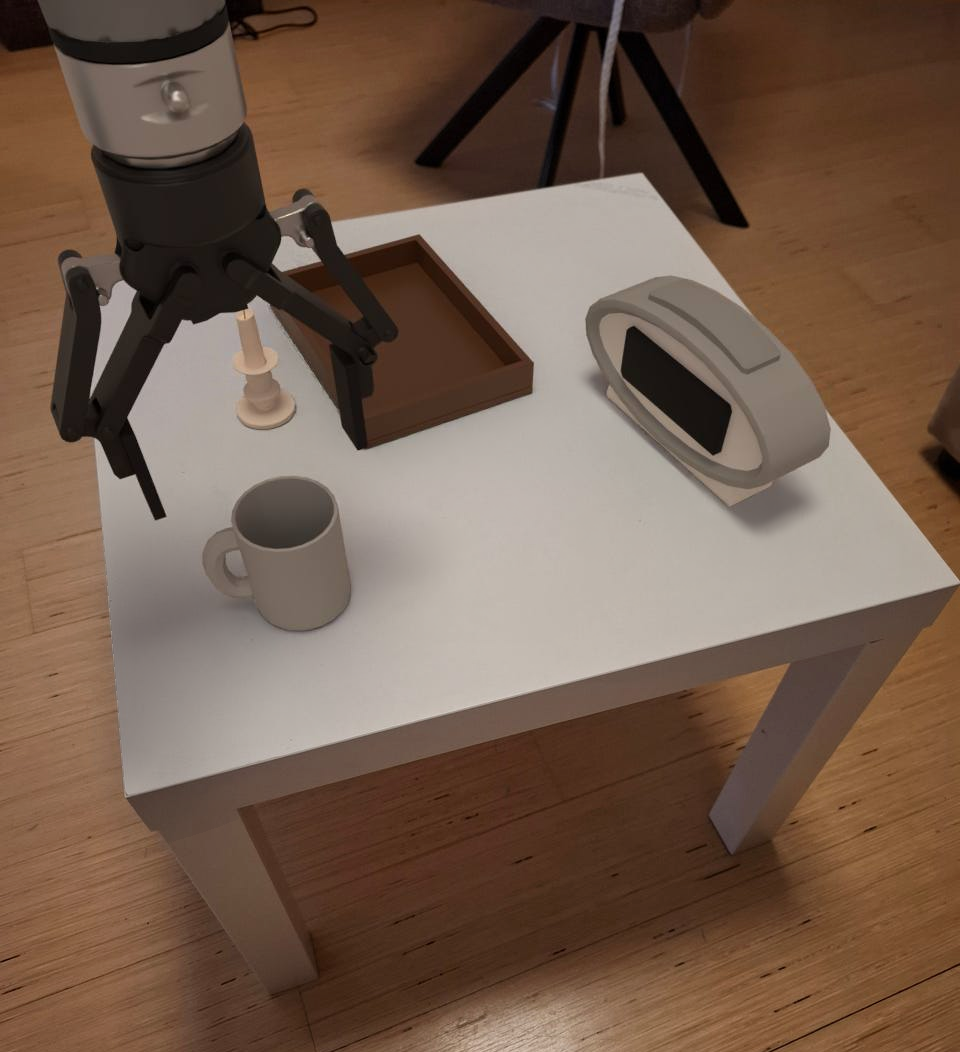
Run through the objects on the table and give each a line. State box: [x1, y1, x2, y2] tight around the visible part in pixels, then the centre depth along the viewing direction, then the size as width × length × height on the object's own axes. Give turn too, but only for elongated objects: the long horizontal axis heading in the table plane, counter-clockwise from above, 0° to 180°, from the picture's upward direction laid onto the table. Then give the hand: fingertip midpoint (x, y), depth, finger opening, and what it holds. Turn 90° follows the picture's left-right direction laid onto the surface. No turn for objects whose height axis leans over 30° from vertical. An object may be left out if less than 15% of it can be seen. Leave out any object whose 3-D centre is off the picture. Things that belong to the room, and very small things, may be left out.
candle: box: [231, 308, 297, 430], centre depth 80 cm, size 5×5×10 cm
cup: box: [201, 475, 351, 632], centre depth 67 cm, size 7×10×9 cm
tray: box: [269, 233, 535, 450], centre depth 88 cm, size 24×17×3 cm
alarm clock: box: [584, 275, 832, 508], centre depth 77 cm, size 23×6×13 cm, turn 33°
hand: (258, 470), depth 61 cm, fingers open, 13 cm apart
